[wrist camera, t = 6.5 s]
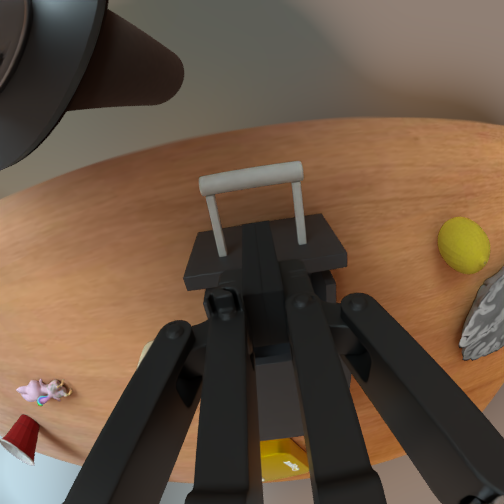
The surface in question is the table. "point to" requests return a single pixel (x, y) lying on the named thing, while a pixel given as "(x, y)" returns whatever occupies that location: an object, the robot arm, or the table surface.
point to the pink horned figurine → (43, 391)
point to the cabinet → (280, 397)
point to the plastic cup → (22, 439)
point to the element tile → (282, 459)
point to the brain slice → (485, 320)
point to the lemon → (463, 245)
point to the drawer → (283, 232)
